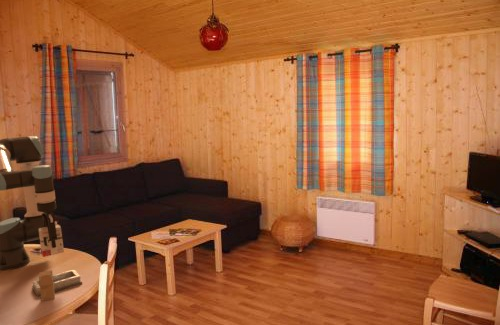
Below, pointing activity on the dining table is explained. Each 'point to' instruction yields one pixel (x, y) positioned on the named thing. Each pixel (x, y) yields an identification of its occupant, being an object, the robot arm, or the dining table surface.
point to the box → (46, 285)
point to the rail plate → (60, 281)
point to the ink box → (45, 244)
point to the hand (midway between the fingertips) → (52, 252)
